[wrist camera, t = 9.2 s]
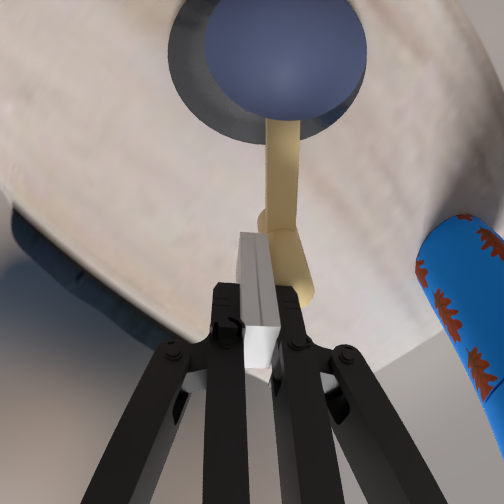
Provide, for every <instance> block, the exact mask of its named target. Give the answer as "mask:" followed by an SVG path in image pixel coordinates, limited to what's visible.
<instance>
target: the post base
mask: <svg viewBox="0 0 504 504" xmlns="http://www.w3.org/2000/svg"><path fill="white" fill-rule="evenodd" d="M220 1H221V0H187V1H186V3H185V4H184V5H183V7H182V8H181V9H180V11H179V13H178V15H177V17H176V19H175V21H174V24H173V27H172V29H171V32H170V38H169V43H168V63H169V70H170V74H171V78H172V81H173V83H174V86H175V88H176V90H177V92H178V94H179V96H180V97H181V99H182V101H183V102H184V103H185V105H186V106H187V107H188V108H189V110H190V111H191V112H192V113H193V114H194V115H195V116H196V117H197V118H198V119H199V120H201V121H202V122H203V123H205V124H206V125H207V126H208V127H210V128H212V129H213V130H215V131H217V132H219V133H220V134H223V135H225V136H227V137H230V138H232V139H235V140H239V141H242V142H247V143H252V144H262V145H266V118H265V117H262V116H258V115H256V114H254V113H251V112H249V111H247V110H245V109H244V108H242V107H240V106H239V105H237V104H236V103H235V102H233V101H232V100H231V99H230V98H229V97H228V96H227V95H226V94H225V93H224V92H223V91H222V90H221V89H220V87H219V86H218V85H217V83H216V82H215V80H214V78H213V77H212V75H211V72H210V70H209V68H208V65H207V61H206V57H205V49H204V39H205V32H206V27H207V24H208V21H209V18H210V16H211V14H212V13H213V11H214V9H215V7H216V6H217V5H218V3H219V2H220ZM366 61H367V57H366ZM365 70H366V63H365V68H364V71H363V74H362V76H361V79H360V81H359V83H358V84H357V86H356V88H355V89H354V90H353V92H352V93H351V94H350V95H349V96H348V97H347V98H346V99H345V100H344V101H343V102H342V103H341V104H339V105H338V106H337V107H335V108H334V109H332V110H330V111H329V112H327V113H324V114H322V115H320V116H317V117H313V118H310V119H305V120H300V140H303V139H306V138H308V137H311V136H313V135H315V134H317V133H319V132H321V131H323V130H324V129H326V128H328V127H329V126H330V125H332V124H333V123H334V122H336V121H337V120H338V119H339V118H340V117H341V116H342V115H343V114H344V113H345V112H346V111H347V109H348V108H349V107H350V105H351V104H352V103H353V101H354V99H355V98H356V96H357V94H358V92H359V90H360V87H361V85H362V82H363V79H364V75H365Z"/></svg>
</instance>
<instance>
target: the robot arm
mask: <svg viewBox="0 0 504 504" xmlns="http://www.w3.org/2000/svg"><path fill="white" fill-rule="evenodd" d="M271 364H272V374H271V377H270V380H269V384H268V388H271V389H272V400H273V410H274V420H275V432H276V443H277V453H278V464H279V475H280V487H281V498H282V504H345V502H344V496H343V490H342V484H341V479H340V473H339V467H338V462H337V456H336V451H335V445H334V441H333V435H332V430H331V427H332V429H333V432H334V434H335V435H336V438H337V440H338V442H339V444H340V446H341V448H342V450H343V452H344V455H345V457H346V459H347V461H348V463H349V465H350V467H351V469H352V471H353V473H354V475H355V477H356V479H357V482H358V484H359V486H360V488H361V490H362V492H363V494H364V496H365V498H366V500H367V502H368V504H448V503H447V501H446V499H445V497H444V495H443V494H442V492H441V490H440V488H439V486H438V485H437V483H436V481H435V479H434V477H433V475H432V474H431V472H430V470H429V468H428V466H427V464H426V463H425V461H424V459H423V458H422V456H421V454H420V452H419V450H418V449H417V447H416V445H415V444H414V441H413V440H412V438H411V436H410V434H409V433H408V431H407V429H406V428H405V426H404V424H403V422H402V421H401V419H400V417H399V416H398V414H397V412H396V410H395V409H394V407H393V405H392V404H391V402H390V400H389V399H388V397H387V395H386V394H385V392H384V390H383V389H382V387H381V385H380V384H379V382H378V380H377V379H376V377H375V375H374V374H373V372H372V371H371V369H370V367H369V366H368V364H367V362H366V361H365V359H364V357H363V356H362V354H361V353H360V352H359V351H358V349H356V348H355V347H353V346H351V345H347V344H343V345H339V346H336V347H335V348H334V350H331V349H327V348H324V347H320V346H318V345H316V344H314V343H313V342H312V339H311V338H310V337H309V336H308V335H307V334H306V330H305V325H304V321H303V316H302V312H301V307H300V303H299V298H298V294H297V292H296V291H295V290H294V288H293V287H292V286H282V285H275V283H274V277H273V270H272V264H271V257H270V251H269V244H268V238H267V234H261V233H249V232H240V239H239V248H238V257H237V267H236V283H222V282H218V283H217V285H216V286H215V288H214V289H213V300H212V313H211V324H210V333H209V335H208V336H207V337H206V338H205V339H204V340H203V341H201V342H198V343H195V344H190V345H187V344H186V343H185V342H183V341H181V340H176V339H170V340H166V341H164V342H162V343H160V345H159V346H158V347H157V348H156V350H155V352H154V354H153V356H152V358H151V360H150V362H149V364H148V366H147V367H146V370H145V371H144V373H143V375H142V377H141V379H140V381H139V383H138V385H137V387H136V389H135V391H134V393H133V395H132V397H131V399H130V401H129V403H128V405H127V407H126V409H125V411H124V413H123V415H122V417H121V419H120V421H119V423H118V425H117V427H116V429H115V431H114V433H113V435H112V437H111V439H110V441H109V443H108V446H107V448H106V450H105V452H104V454H103V456H102V458H101V460H100V462H99V464H98V466H97V469H96V471H95V473H94V475H93V477H92V479H91V482H90V484H89V486H88V488H87V490H86V492H85V495H84V497H83V499H82V501H81V504H150V501H151V498H152V496H153V493H154V490H155V488H156V485H157V483H158V480H159V477H160V474H161V472H162V470H163V467H164V464H165V462H166V459H167V456H168V454H169V451H170V449H171V446H172V443H173V441H174V438H175V436H176V433H177V430H178V428H179V425H180V423H181V420H182V417H183V415H184V412H185V410H186V407H187V404H188V402H189V399H190V397H191V394H192V392H195V391H200V390H204V389H206V407H205V408H206V409H205V431H204V459H203V503H202V504H250V495H249V472H248V448H247V423H246V422H247V421H246V396H245V368H270V365H271Z"/></svg>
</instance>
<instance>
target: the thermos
mask: <svg viewBox="0 0 504 504" xmlns="http://www.w3.org/2000/svg"><path fill="white" fill-rule="evenodd" d="M415 273H416V276H417V278H418V281H419V283H420V285H421V287H422V289H423V291H424V293H425V295H426V296H427V298H428V300H429V302H430V304H431V306H432V308H433V310H434V311H435V313H436V315H437V317H438V318H439V320H440V322H441V324H442V326H443V327H444V329H445V331H446V333H447V335H448V336H449V338H450V340H451V342H452V344H453V346H454V348H455V349H456V351H457V353H458V355H459V357H460V359H461V361H462V363H463V365H464V367H465V369H466V371H467V373H468V376H469V378H470V380H471V382H472V384H473V386H474V388H475V390H476V392H477V395H478V397H479V399H480V402H481V404H482V406H483V408H485V409H484V411H485V413H486V415H487V418H488V420H489V423H490V425H491V428H492V430H493V433H494V435H495V438H496V441H497V443H498V446H499V449H500V452H501V454H502V457H503V460H504V240H503V239H502V238H501V237H500V236H499V235H498V234H497V233H496V232H495V231H493V230H492V229H491V228H490V227H489V226H487V225H486V224H485V223H484V222H482V221H481V220H480V219H479V218H477V217H474V216H472V215H470V214H466V215H456V216H454V217H452V218H450V219H448V220H446V221H444V222H443V223H441V224H440V225H439V226H438V227H437V228H436V229H434V230H433V231H432V232H431V233H430V235H429V236H428V238H427V239H426V240H425V242H424V243H423V244H422V246H421V249H420V251H419V254H418V256H417V259H416V270H415Z"/></svg>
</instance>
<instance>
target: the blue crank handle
mask: <svg viewBox="0 0 504 504" xmlns="http://www.w3.org/2000/svg"><path fill="white" fill-rule="evenodd" d="M204 49H205V57H206V61H207V65H208V68H209V70H210V72H211V75H212V77H213V78H214V80H215V82H216V83H217V85H218V86H219V87H220V89H221V90H222V91H223V92H224V93H225V94H226V95H227V96H228V97H229V98H230V99H231V100H232V101H233V102H235V103H236V104H237V105H239V106H240V107H242V108H244V109H245V110H247V111H249V112H251V113H254V114H256V115H258V116H262V117H265V118H266V209H265V210H263V211H262V212H261V213H260V215H259V217H258V221H257V224H258V233H261V234H267V238H268V244H269V251H270V257H271V264H272V270H273V277H274V283H275V285H282V286H292V287H293V288H294V290H295V291H296V292H297V294H298V298H299V303H300V307H301V308H303V307H304V306H306V305H307V304H308V303H309V302H310V301H311V300H312V298H313V296H314V291H315V290H314V285H313V282H312V278H311V275H310V271H309V268H308V264H307V261H306V257H305V254H304V251H303V247H302V244H301V241H300V237H299V234H298V231H297V227H296V211H297V192H298V171H299V147H300V120H305V119H310V118H313V117H317V116H320V115H322V114H324V113H327V112H329V111H330V110H332V109H334V108H335V107H337V106H338V105H339V104H341V103H342V102H343V101H344V100H345V99H346V98H347V97H348V96H349V95H350V94H351V93H352V92H353V90H354V89H355V88H356V86H357V84H358V83H359V81H360V79H361V76H362V74H363V71H364V68H365V63H366V56H367V45H366V38H365V33H364V30H363V27H362V24H361V22H360V20H359V18H358V16H357V14H356V13H355V11H354V10H353V8H352V7H351V6H350V5H349V4H348V2H347V1H346V0H221V1H220V2H219V3H218V5H217V6H216V7H215V9H214V11H213V13H212V14H211V16H210V18H209V21H208V24H207V27H206V32H205V39H204Z"/></svg>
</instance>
